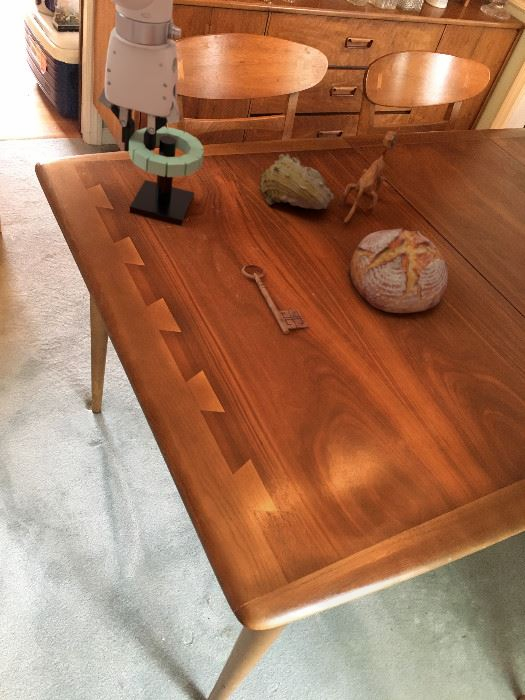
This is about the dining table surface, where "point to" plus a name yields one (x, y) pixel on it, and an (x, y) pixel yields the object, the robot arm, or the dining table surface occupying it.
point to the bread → (399, 271)
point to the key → (276, 313)
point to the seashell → (294, 184)
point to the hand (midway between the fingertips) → (138, 149)
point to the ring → (167, 164)
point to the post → (163, 193)
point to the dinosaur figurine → (371, 177)
